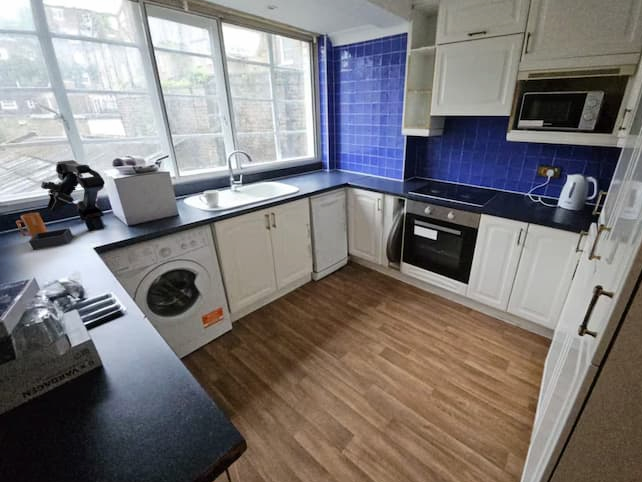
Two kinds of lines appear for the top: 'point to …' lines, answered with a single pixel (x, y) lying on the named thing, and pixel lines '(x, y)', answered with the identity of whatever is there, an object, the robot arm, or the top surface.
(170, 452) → the top surface
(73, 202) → the plastic cup
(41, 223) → the tall orange mug
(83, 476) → the top surface
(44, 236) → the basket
